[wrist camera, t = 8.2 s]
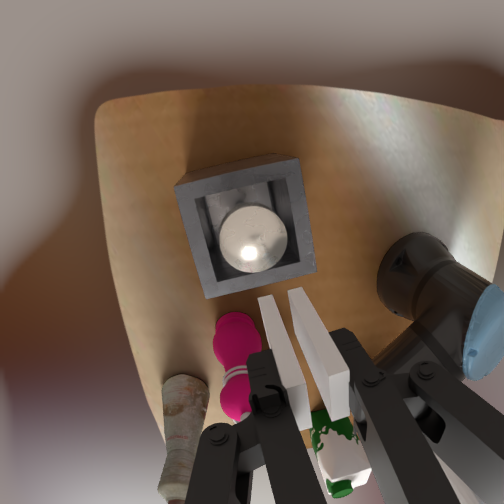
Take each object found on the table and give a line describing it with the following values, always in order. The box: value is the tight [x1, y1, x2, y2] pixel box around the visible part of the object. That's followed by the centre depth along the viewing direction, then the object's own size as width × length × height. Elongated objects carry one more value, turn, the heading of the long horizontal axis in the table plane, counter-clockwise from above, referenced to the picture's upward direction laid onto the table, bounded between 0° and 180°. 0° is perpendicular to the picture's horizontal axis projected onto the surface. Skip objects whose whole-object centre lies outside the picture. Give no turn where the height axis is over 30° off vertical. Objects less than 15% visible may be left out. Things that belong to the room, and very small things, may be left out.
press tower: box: [174, 153, 317, 299], centre depth 37 cm, size 12×12×13 cm
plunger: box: [206, 182, 287, 273], centre depth 35 cm, size 8×8×15 cm
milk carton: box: [310, 409, 372, 498], centre depth 51 cm, size 9×9×20 cm
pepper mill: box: [213, 312, 262, 422], centre depth 40 cm, size 7×7×20 cm
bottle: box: [158, 374, 210, 504], centre depth 40 cm, size 9×9×28 cm
